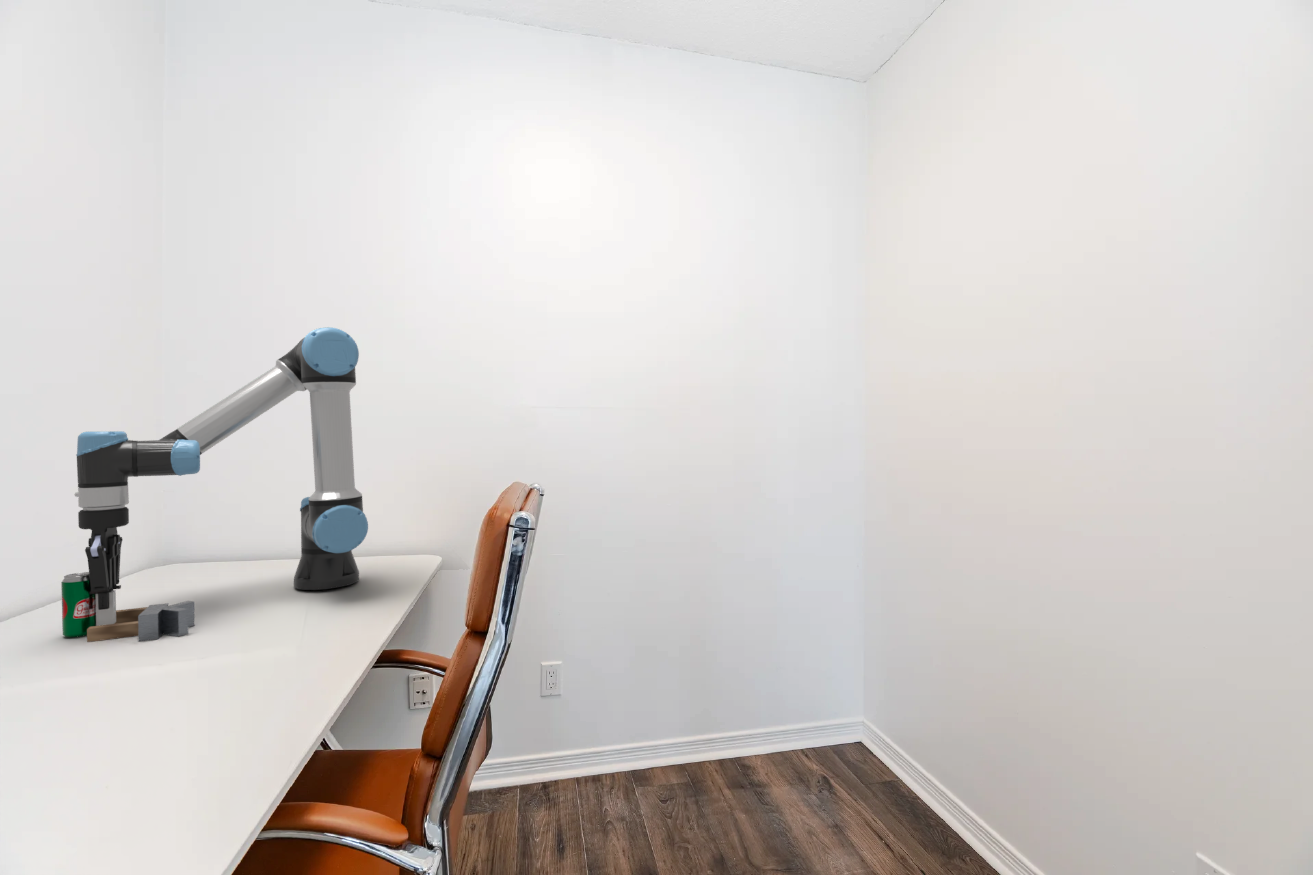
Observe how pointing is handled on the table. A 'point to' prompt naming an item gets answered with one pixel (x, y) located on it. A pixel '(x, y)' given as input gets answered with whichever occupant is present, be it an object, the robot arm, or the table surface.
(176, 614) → the v block
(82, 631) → the soda can
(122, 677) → the table surface
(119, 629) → the channel
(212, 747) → the table surface
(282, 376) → the robot arm
